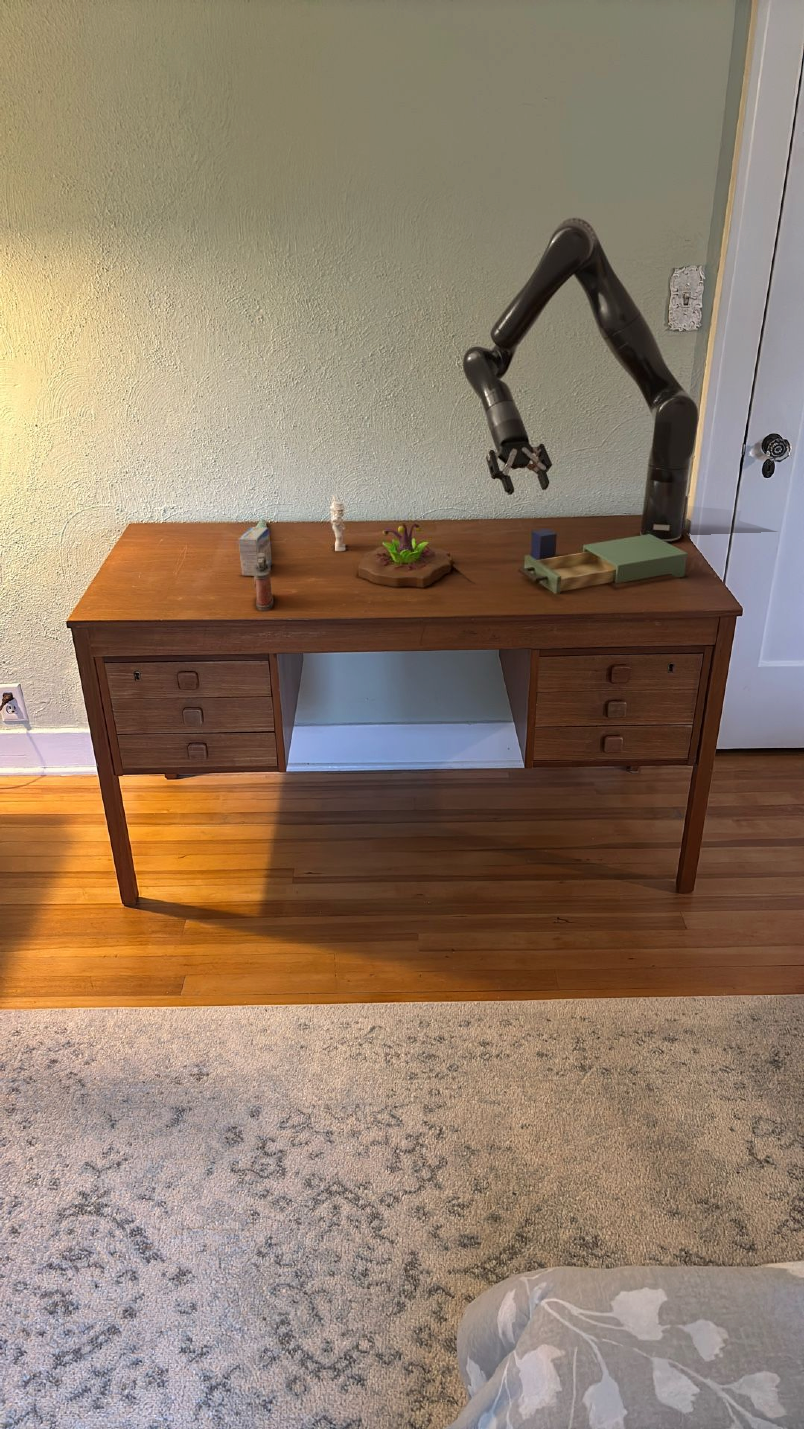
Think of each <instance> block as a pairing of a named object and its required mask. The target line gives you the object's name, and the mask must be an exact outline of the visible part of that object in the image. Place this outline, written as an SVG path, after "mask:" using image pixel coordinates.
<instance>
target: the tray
mask: <svg viewBox="0 0 804 1429" xmlns="http://www.w3.org/2000/svg"><path fill="white" fill-rule="evenodd" d="M517 572H518V573H519V574H521V575H523V577H525V578H527V579H528V580H529V581H531V582H533V583H534V584H535V585H538V584H540V585H542V586H543V587H545V588H546V589H548V590H549V591H551V592H552V593H554V594H555V595H559V594H561V592H563V591H564V592H565V591H570V590H576V589H581V588H587V587H592V586H598V585H603V584H610V583H615V577H616V567H615V566H614V565H612V564H610V563H609V562H607V561H605V560H604V559H602V558H600V557H598V556H597V555H595V554H593V553H592V552H590V551H589V552H583V551H582V552H579V553H571V554H568V555H559V556H555V557H553V558H547V559H541V560H536V559H534V558H533V557H531V554H525V555H524V567H523V566H519V567H518V568H517Z"/></svg>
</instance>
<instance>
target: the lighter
mask: <svg viewBox="0 0 804 1429" xmlns="http://www.w3.org/2000/svg"><path fill="white" fill-rule="evenodd" d="M253 571H254V576H253V579H254V580H253V582H254V588H255V592H256V598H255V600H256V607H257V609H258V610H259V611H268V610H271V608H272V607H273V605H274V596H273V592H272V584H271V565H270V564H269V562H267V560H266V559H265V555H264V553H259V554H258V555H257V563H256V564H255V565H254V568H253Z"/></svg>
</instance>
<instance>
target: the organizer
mask: <svg viewBox="0 0 804 1429" xmlns="http://www.w3.org/2000/svg"><path fill="white" fill-rule="evenodd" d="M589 551H590V552H592V553H593V554H595V555H597V556H598V557H600V558H602V559H604V560H605V561H607V562H609V563H610V564H612V565H614V566H615V567H616V577H615V582H614V583H615V584H621V583H626V582H631V581H638V580H642V579H647V578H654V577H660V576H664V575H665V576H666V575H672V576H673V577H675V578H682V577H683V578H684V577H685V575H686V567H687V559H688V553H687V552H685V550H682V549H680V548H678V547H676V546H675V545H672V544H670V543H666V542H664V541H662V540H660V539H659V538H657V537H655V536H653V535H651V534H648V535H641V536H640V535H636V536H629V537H624V538H617V539H612V540H605V541H600V542H593V543H587V544H583V546H582V553H583V552H589Z"/></svg>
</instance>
